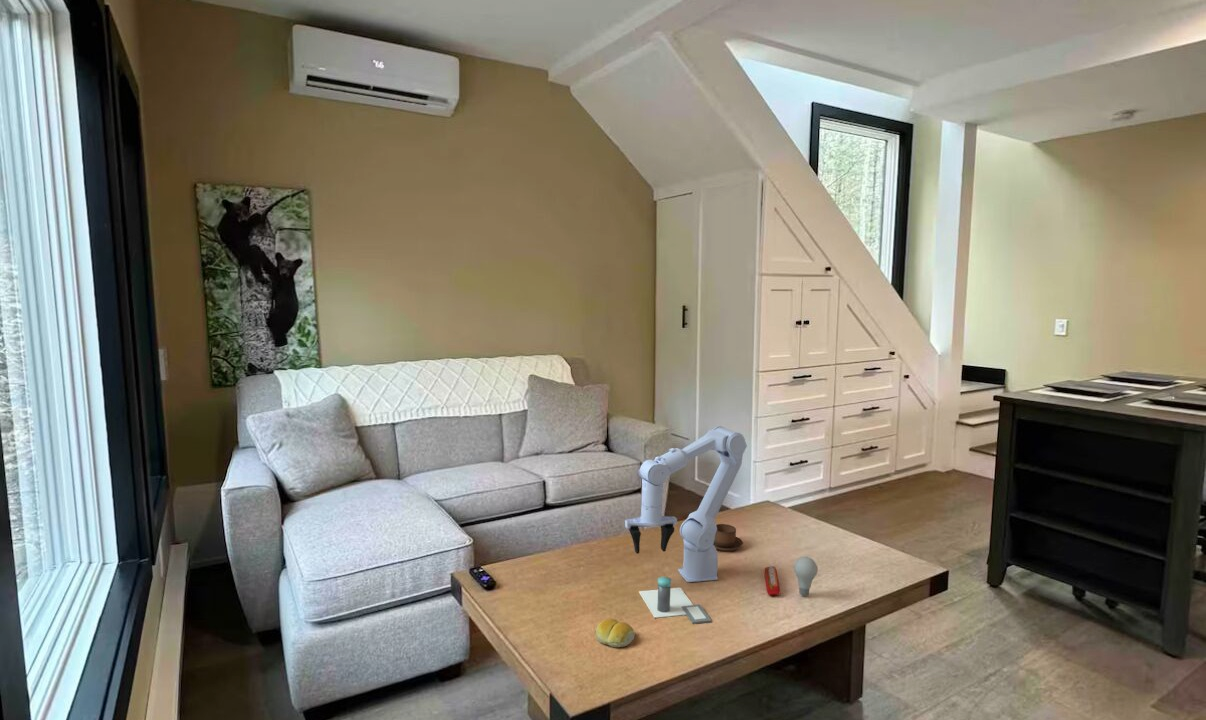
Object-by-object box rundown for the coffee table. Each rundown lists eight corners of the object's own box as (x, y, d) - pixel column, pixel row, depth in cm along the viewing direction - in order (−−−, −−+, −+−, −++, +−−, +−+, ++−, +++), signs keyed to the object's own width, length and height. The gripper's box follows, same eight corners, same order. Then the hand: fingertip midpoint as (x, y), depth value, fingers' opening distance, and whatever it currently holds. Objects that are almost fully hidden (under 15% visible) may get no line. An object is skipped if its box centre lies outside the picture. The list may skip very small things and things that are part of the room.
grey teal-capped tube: (666, 605, 167) (667, 576, 166) (672, 611, 164) (673, 581, 163) (654, 607, 166) (655, 577, 165) (660, 613, 162) (661, 583, 161)
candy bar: (763, 572, 189) (764, 562, 188) (776, 573, 188) (776, 564, 188) (766, 598, 173) (767, 587, 173) (780, 599, 172) (780, 589, 172)
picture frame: (699, 606, 167) (699, 604, 167) (711, 622, 159) (711, 619, 159) (681, 608, 166) (681, 605, 166) (692, 624, 158) (692, 621, 158)
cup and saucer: (704, 537, 213) (705, 520, 213) (741, 540, 212) (741, 522, 211) (705, 552, 201) (706, 533, 201) (743, 555, 200) (745, 536, 199)
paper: (680, 588, 177) (680, 587, 177) (699, 613, 163) (699, 612, 163) (638, 591, 174) (638, 591, 174) (654, 618, 160) (654, 617, 160)
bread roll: (607, 625, 157) (607, 610, 156) (638, 636, 152) (639, 621, 152) (588, 640, 150) (588, 624, 150) (620, 652, 145) (621, 636, 145)
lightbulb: (815, 593, 176) (818, 555, 175) (815, 603, 170) (818, 564, 169) (792, 589, 178) (795, 551, 177) (791, 599, 172) (794, 560, 171)
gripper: (671, 497, 181) (670, 543, 183) (622, 500, 178) (621, 547, 179) (680, 506, 174) (678, 553, 176) (629, 509, 171) (628, 557, 172)
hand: (650, 551), depth 177 cm, fingers open, 7 cm apart
